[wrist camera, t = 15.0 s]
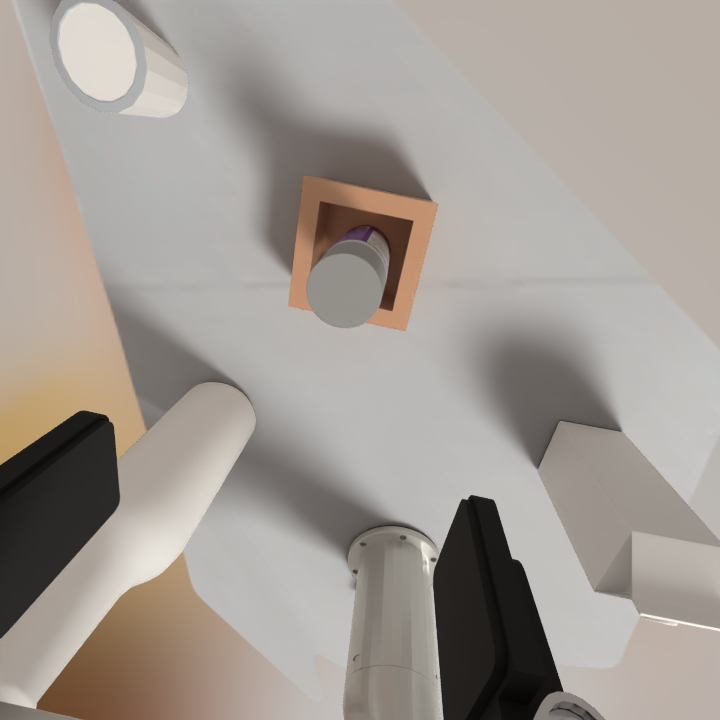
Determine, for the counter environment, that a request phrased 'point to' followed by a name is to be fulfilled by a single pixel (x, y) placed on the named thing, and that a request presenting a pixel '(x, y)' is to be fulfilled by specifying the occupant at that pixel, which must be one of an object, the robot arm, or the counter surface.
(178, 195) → the counter surface
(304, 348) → the counter surface
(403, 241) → the tan open box
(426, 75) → the counter surface
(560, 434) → the milk carton
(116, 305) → the counter surface
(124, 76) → the white cup
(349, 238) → the container
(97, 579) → the alcohol
